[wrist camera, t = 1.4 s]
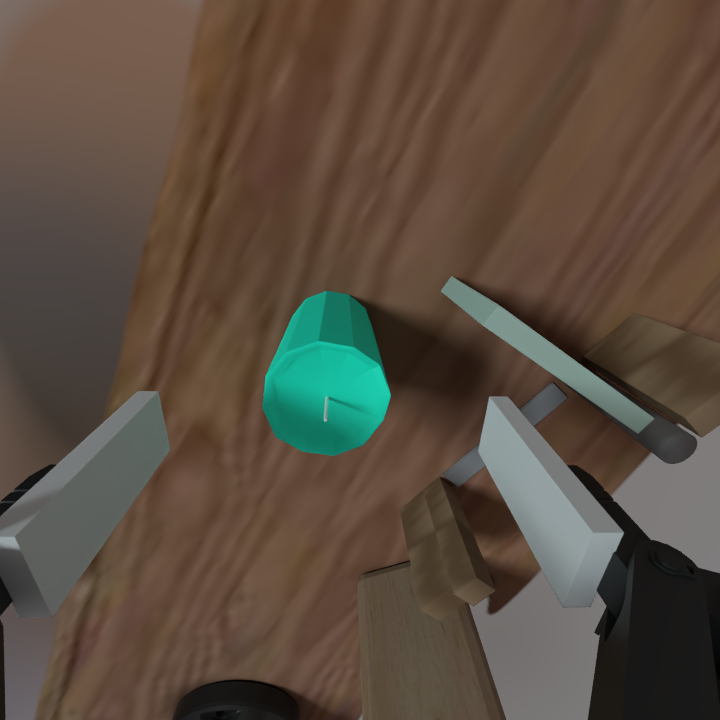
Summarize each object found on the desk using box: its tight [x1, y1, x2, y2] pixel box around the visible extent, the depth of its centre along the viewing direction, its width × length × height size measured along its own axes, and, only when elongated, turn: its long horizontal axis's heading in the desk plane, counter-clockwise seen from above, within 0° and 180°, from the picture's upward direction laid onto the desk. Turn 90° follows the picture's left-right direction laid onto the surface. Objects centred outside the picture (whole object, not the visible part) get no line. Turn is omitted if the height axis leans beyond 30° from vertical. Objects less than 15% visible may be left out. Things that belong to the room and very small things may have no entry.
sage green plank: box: [441, 276, 655, 433], centre depth 23 cm, size 12×1×8 cm, turn 56°
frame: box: [400, 313, 720, 621], centre depth 26 cm, size 25×2×10 cm, turn 138°
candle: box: [262, 291, 391, 456], centre depth 21 cm, size 6×6×12 cm
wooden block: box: [357, 562, 506, 720], centre depth 29 cm, size 10×10×20 cm
